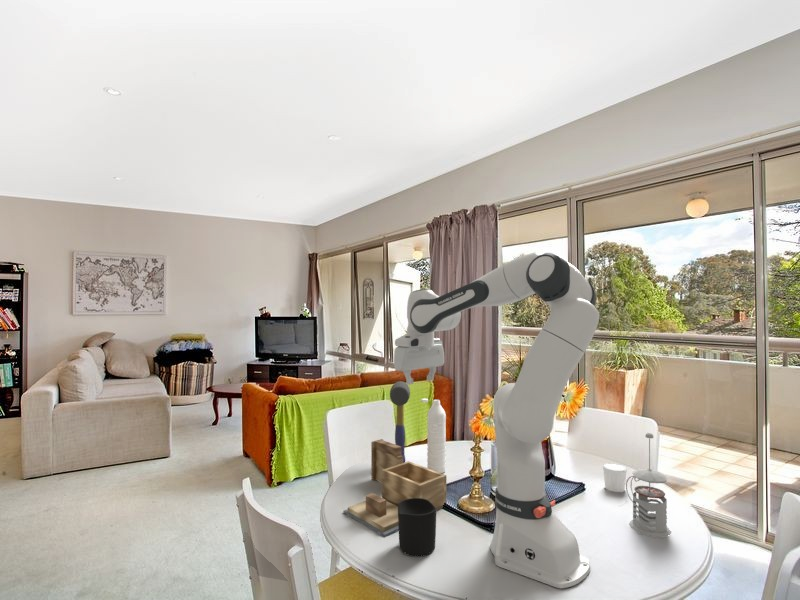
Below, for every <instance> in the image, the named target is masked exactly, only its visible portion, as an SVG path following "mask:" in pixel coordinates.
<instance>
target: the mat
mask: <svg viewBox="0 0 800 600" xmlns="http://www.w3.org/2000/svg"><path fill="white" fill-rule="evenodd" d="M342 513H343V514H345V515H347V516H348V517H350V518H352V519H353V520H355V521H357V522H359V523H360V524H362V525H363V526H366V527H367V528H369V529H370V530H372V531H374V532H376V533H378V534H380V536H382V537H384V538H386V537H388V536H390V535H392V534H394V533H398V532H399V527H398V526H396V527H394V528H392V529H390V530H387V531H385V532H383V531H381V530H380V529H378V528H376V527H374V526H372V525H371V524H369V523H367V522H365V521H364V520H362V519H360V518H358V517H357V516H355V515H353V514H351V513H350V512H348V508H347V509H344V510H343V511H342Z"/></svg>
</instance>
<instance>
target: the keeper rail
mask: <svg viewBox="0 0 800 600" xmlns="http://www.w3.org/2000/svg"><path fill="white" fill-rule="evenodd" d="M379 440H383V441H384V439H382V438H381V439H377V440H374V441H371V442H370V443H371V456H370V457H371V465H370V466H371V471H370V472H371V481H373V482H375V481H378V482H379V483H382V470H383V469H386V468H390V467H393V466H396V465H399V464H402V463H403V456H402V455H398V456H394V455H391V454H388V453H386V452H383V451H380V450H378V449H376V441H379Z"/></svg>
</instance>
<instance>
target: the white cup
mask: <svg viewBox="0 0 800 600" xmlns="http://www.w3.org/2000/svg"><path fill="white" fill-rule="evenodd" d="M602 469H603V477H604V478H603V479H604V488H605V489H606V490H607V491H609V492H613V493H623V492H625V490H626V481H627V479H626V478H627V467H626V466H625V465H622V464H618V463H614V462H613V463H612V462H611V463H610V462H608V463H604V464H603V465H602Z"/></svg>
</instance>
